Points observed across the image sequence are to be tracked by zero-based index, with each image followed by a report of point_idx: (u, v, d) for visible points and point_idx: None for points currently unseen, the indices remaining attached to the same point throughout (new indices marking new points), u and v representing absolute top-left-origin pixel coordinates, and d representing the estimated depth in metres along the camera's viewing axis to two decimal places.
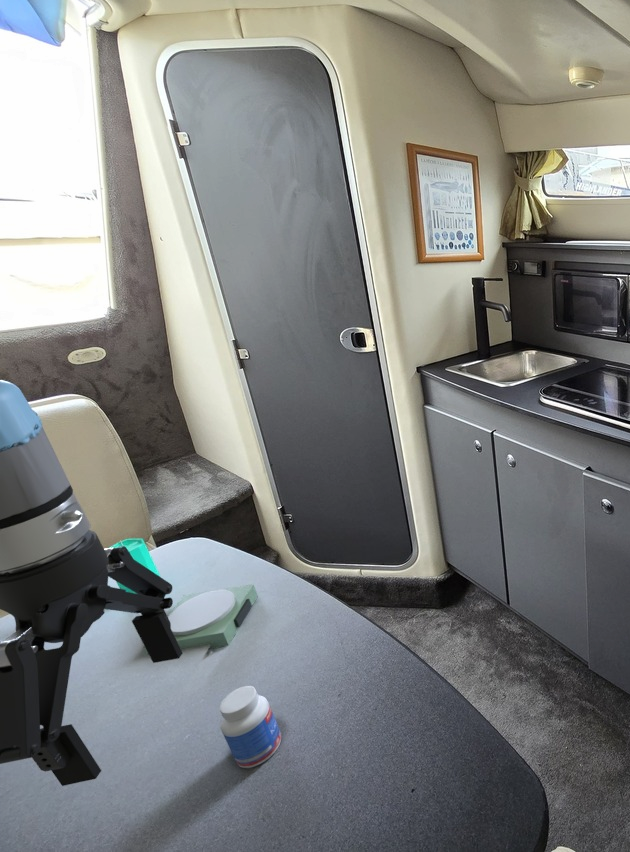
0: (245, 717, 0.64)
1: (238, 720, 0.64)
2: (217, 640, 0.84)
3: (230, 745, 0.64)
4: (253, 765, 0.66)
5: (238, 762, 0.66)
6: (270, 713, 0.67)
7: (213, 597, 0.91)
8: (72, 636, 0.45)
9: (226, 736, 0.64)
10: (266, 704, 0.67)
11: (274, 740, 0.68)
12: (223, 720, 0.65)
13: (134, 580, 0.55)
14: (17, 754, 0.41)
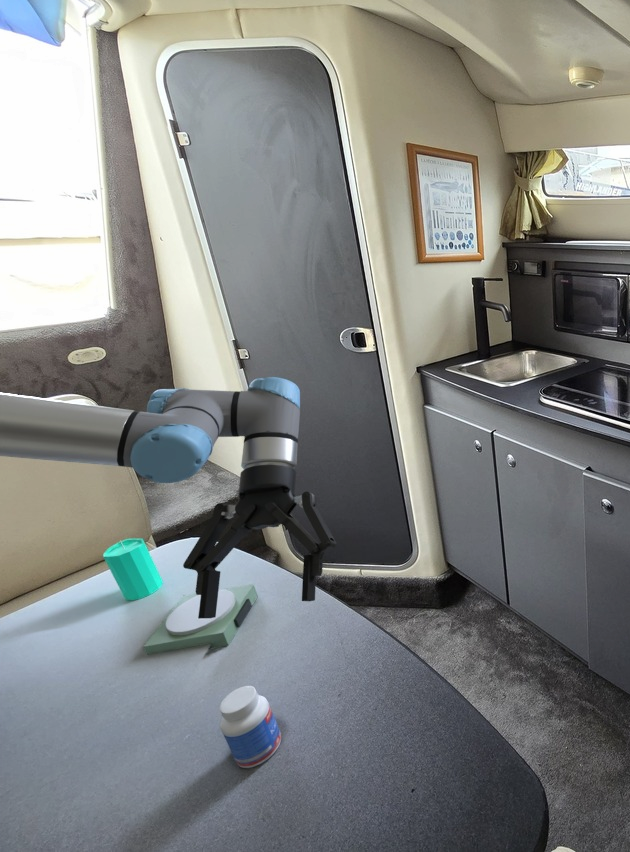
0: (245, 717, 0.64)
1: (238, 720, 0.64)
2: (217, 640, 0.84)
3: (230, 745, 0.64)
4: (253, 765, 0.66)
5: (238, 762, 0.66)
6: (270, 713, 0.67)
7: None
8: None
9: (226, 736, 0.64)
10: (266, 704, 0.67)
11: (274, 740, 0.68)
12: (223, 720, 0.65)
13: (215, 538, 0.75)
14: (334, 542, 0.77)
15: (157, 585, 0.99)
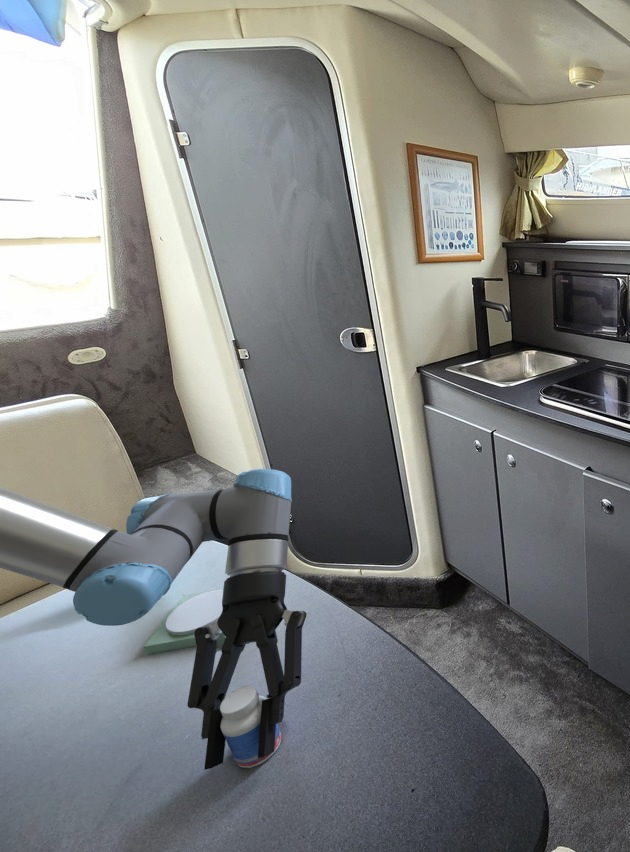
0: (245, 717, 0.64)
1: (238, 720, 0.64)
2: (217, 640, 0.84)
3: (230, 745, 0.64)
4: (253, 765, 0.66)
5: (238, 762, 0.66)
6: None
7: (213, 597, 0.91)
8: None
9: (226, 736, 0.64)
10: None
11: None
12: (223, 720, 0.65)
13: (210, 664, 0.68)
14: (298, 679, 0.69)
15: None
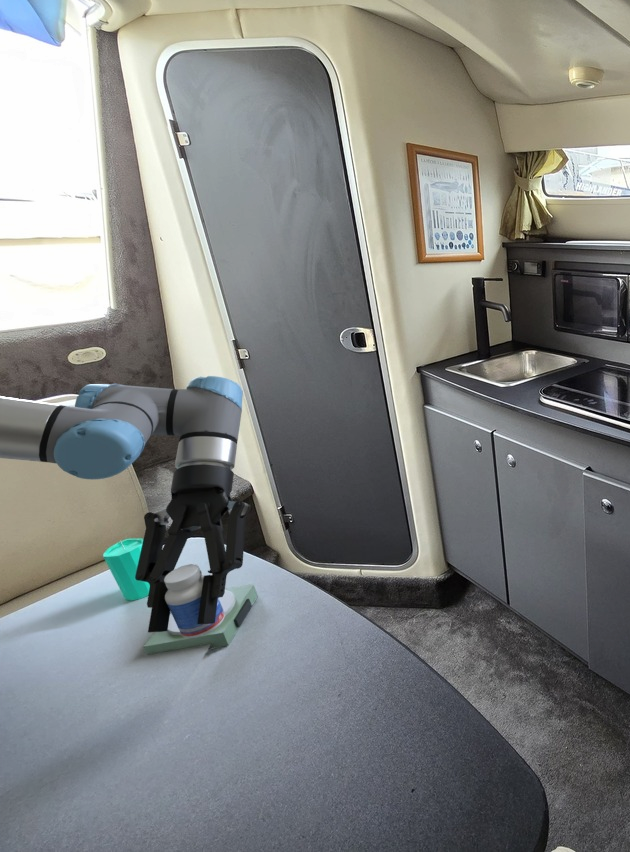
0: (187, 589, 0.70)
1: (181, 591, 0.70)
2: (217, 640, 0.84)
3: (173, 614, 0.70)
4: (196, 635, 0.72)
5: (182, 632, 0.71)
6: None
7: None
8: None
9: (169, 605, 0.70)
10: None
11: (216, 615, 0.73)
12: (167, 591, 0.70)
13: (158, 545, 0.74)
14: (239, 561, 0.74)
15: None
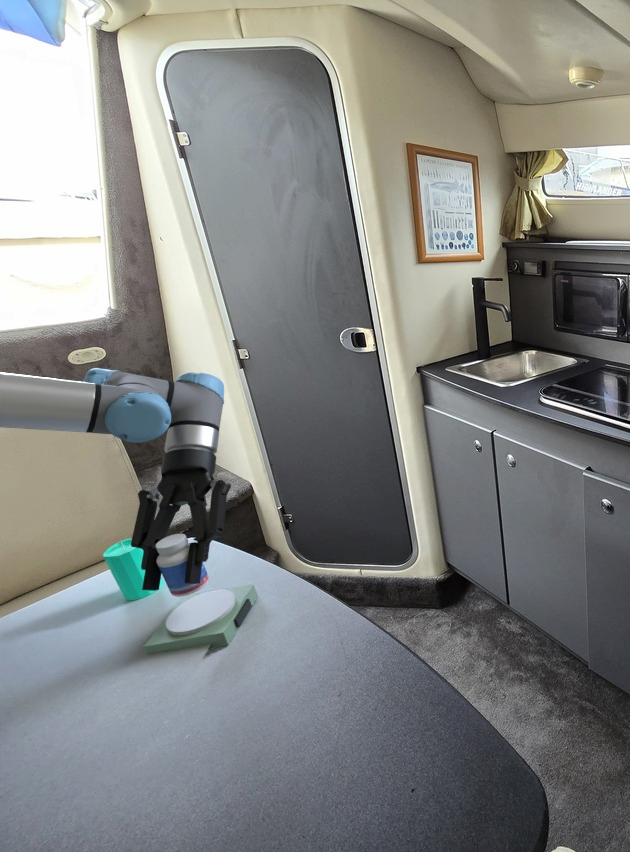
0: (176, 553, 0.82)
1: (170, 555, 0.82)
2: (217, 640, 0.84)
3: (164, 575, 0.82)
4: (183, 594, 0.84)
5: (171, 591, 0.84)
6: None
7: (213, 597, 0.91)
8: None
9: (160, 567, 0.82)
10: None
11: (201, 577, 0.85)
12: (159, 556, 0.82)
13: (150, 518, 0.86)
14: (221, 531, 0.86)
15: None
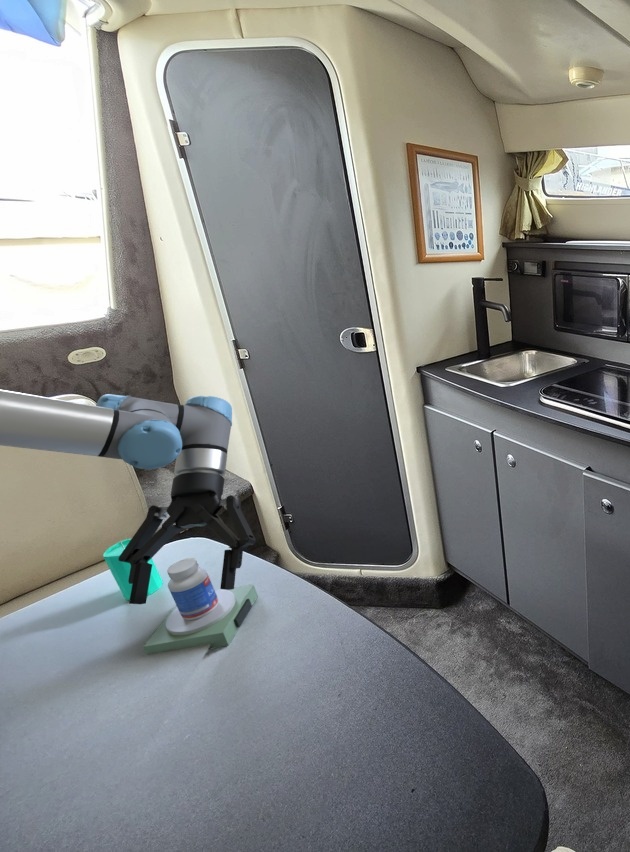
0: (187, 578, 0.84)
1: (181, 580, 0.84)
2: (217, 640, 0.84)
3: (175, 600, 0.84)
4: (194, 617, 0.86)
5: (182, 615, 0.85)
6: (208, 580, 0.87)
7: None
8: None
9: (172, 592, 0.84)
10: (205, 572, 0.87)
11: (211, 601, 0.87)
12: (170, 581, 0.84)
13: (148, 535, 0.88)
14: (253, 539, 0.90)
15: (157, 585, 0.99)
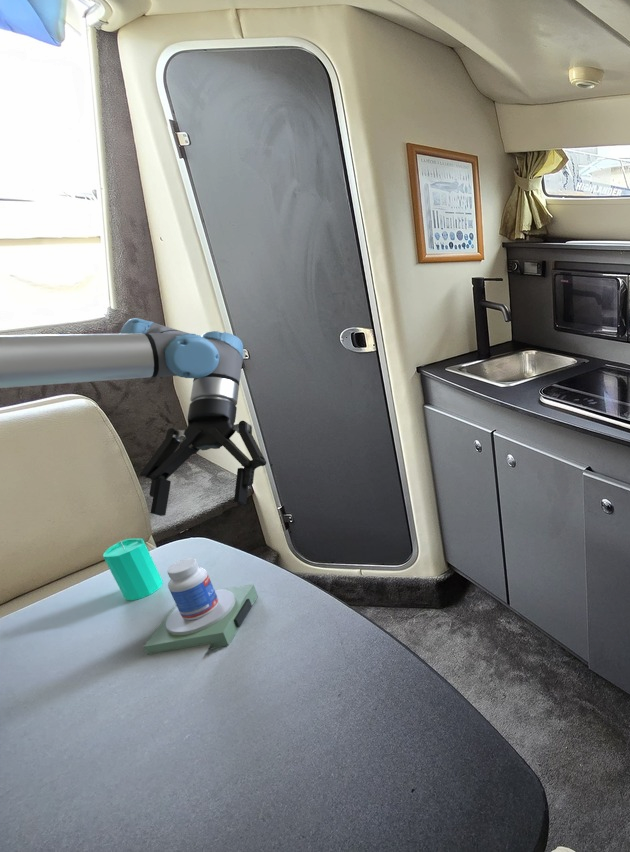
0: (187, 578, 0.84)
1: (181, 580, 0.84)
2: (217, 640, 0.84)
3: (175, 600, 0.84)
4: (194, 617, 0.86)
5: (182, 615, 0.85)
6: (208, 580, 0.87)
7: None
8: None
9: (172, 592, 0.84)
10: (205, 572, 0.87)
11: (211, 601, 0.87)
12: (170, 581, 0.84)
13: (167, 455, 0.95)
14: (264, 460, 0.96)
15: (157, 585, 0.99)
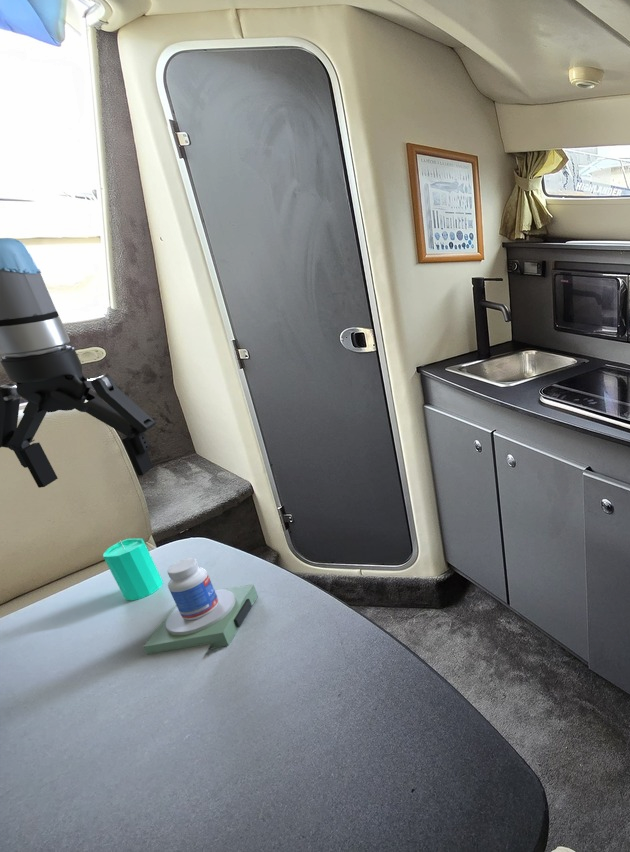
0: (187, 578, 0.84)
1: (181, 580, 0.84)
2: (217, 640, 0.84)
3: (175, 600, 0.84)
4: (194, 617, 0.86)
5: (182, 615, 0.85)
6: (208, 580, 0.87)
7: None
8: None
9: (172, 592, 0.84)
10: (205, 572, 0.87)
11: (211, 601, 0.87)
12: (170, 581, 0.84)
13: (13, 416, 0.74)
14: (151, 422, 0.79)
15: (157, 585, 0.99)
